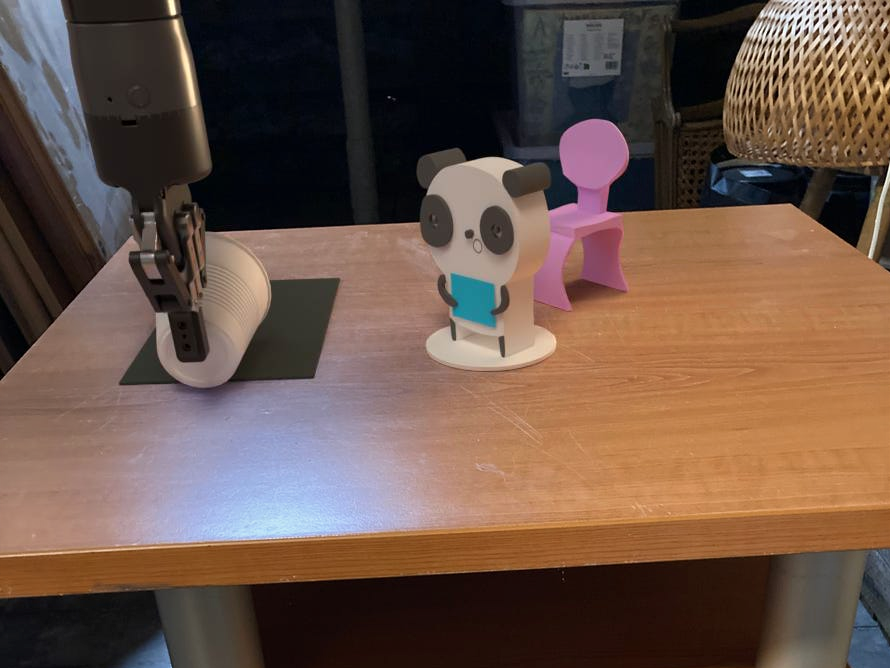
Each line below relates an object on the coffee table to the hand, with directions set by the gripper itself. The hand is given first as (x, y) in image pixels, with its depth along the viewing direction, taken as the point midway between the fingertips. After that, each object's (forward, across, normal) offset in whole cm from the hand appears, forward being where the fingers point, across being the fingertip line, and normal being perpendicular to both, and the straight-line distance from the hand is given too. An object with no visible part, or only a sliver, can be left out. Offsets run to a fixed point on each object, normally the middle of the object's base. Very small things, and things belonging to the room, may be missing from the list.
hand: (194, 358), depth 75 cm
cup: (+1, -2, 0) cm, 3 cm away
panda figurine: (+4, -12, +22) cm, 26 cm away
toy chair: (+4, -25, +31) cm, 40 cm away
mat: (+4, -19, 0) cm, 19 cm away
